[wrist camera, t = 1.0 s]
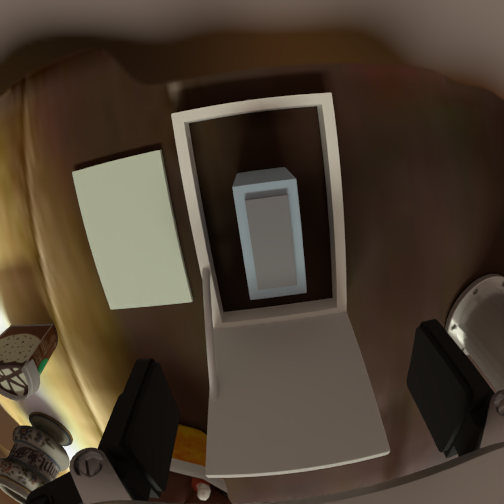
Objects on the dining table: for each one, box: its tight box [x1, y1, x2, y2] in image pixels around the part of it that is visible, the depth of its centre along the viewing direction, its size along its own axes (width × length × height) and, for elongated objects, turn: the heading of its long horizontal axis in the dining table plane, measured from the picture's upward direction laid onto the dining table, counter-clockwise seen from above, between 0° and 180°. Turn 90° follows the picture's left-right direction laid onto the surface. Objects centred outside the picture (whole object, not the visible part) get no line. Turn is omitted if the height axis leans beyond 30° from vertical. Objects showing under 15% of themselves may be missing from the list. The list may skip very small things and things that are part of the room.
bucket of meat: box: [148, 424, 232, 504], centre depth 35 cm, size 20×16×20 cm
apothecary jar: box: [0, 412, 73, 504], centre depth 37 cm, size 12×12×18 cm
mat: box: [72, 150, 193, 309], centre depth 32 cm, size 10×16×1 cm, turn 8°
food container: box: [0, 324, 58, 401], centre depth 33 cm, size 12×6×10 cm, turn 98°
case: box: [171, 93, 390, 478], centre depth 24 cm, size 14×26×18 cm, turn 8°
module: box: [232, 167, 307, 300], centre depth 27 cm, size 4×9×8 cm, turn 8°
